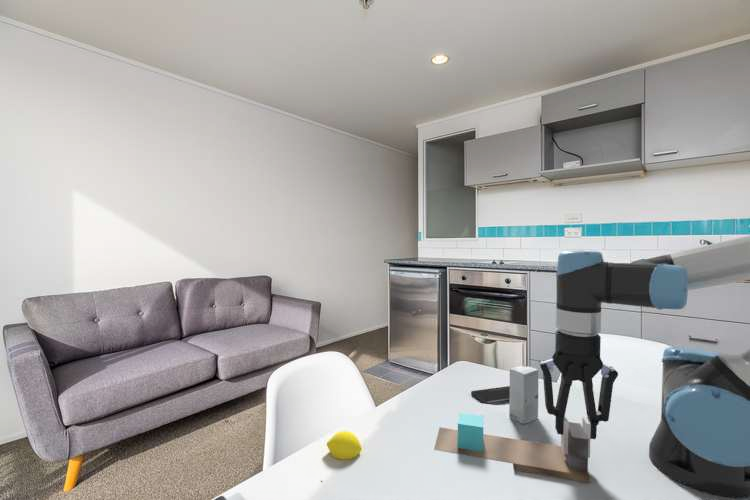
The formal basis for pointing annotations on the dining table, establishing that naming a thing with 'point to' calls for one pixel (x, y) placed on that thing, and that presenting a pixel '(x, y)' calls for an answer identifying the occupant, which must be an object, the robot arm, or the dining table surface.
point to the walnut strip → (529, 453)
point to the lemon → (344, 445)
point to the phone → (493, 395)
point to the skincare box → (523, 394)
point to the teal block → (470, 432)
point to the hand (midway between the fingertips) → (575, 451)
